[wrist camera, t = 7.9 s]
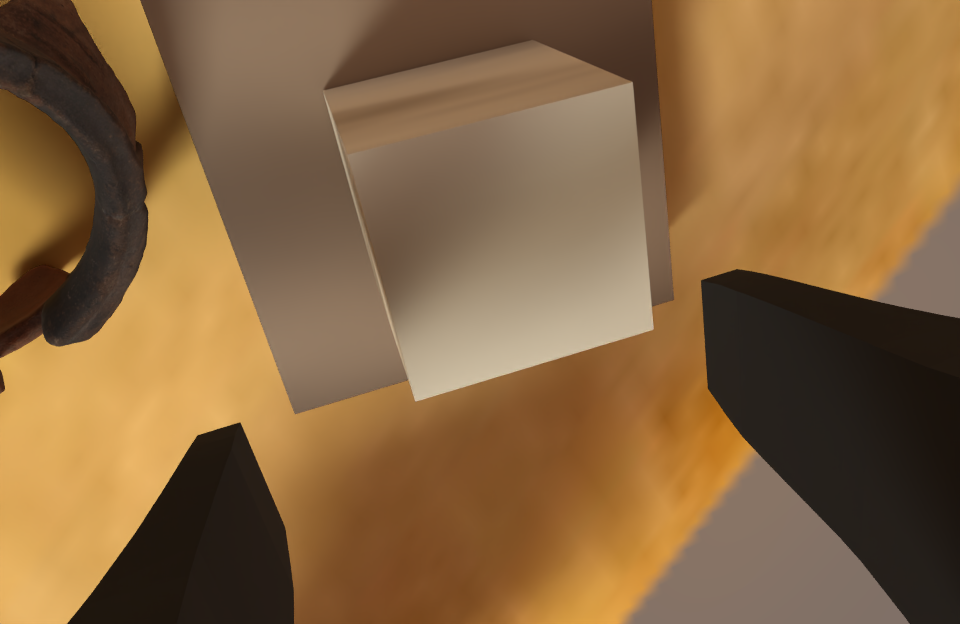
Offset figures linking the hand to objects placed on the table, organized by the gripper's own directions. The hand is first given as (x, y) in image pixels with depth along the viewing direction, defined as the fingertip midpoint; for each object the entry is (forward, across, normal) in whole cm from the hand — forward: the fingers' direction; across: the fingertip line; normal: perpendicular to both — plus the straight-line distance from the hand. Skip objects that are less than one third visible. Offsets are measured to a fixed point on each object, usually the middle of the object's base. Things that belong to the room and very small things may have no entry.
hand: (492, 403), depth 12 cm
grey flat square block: (+10, -1, -2) cm, 10 cm away
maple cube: (+7, -1, -2) cm, 7 cm away
